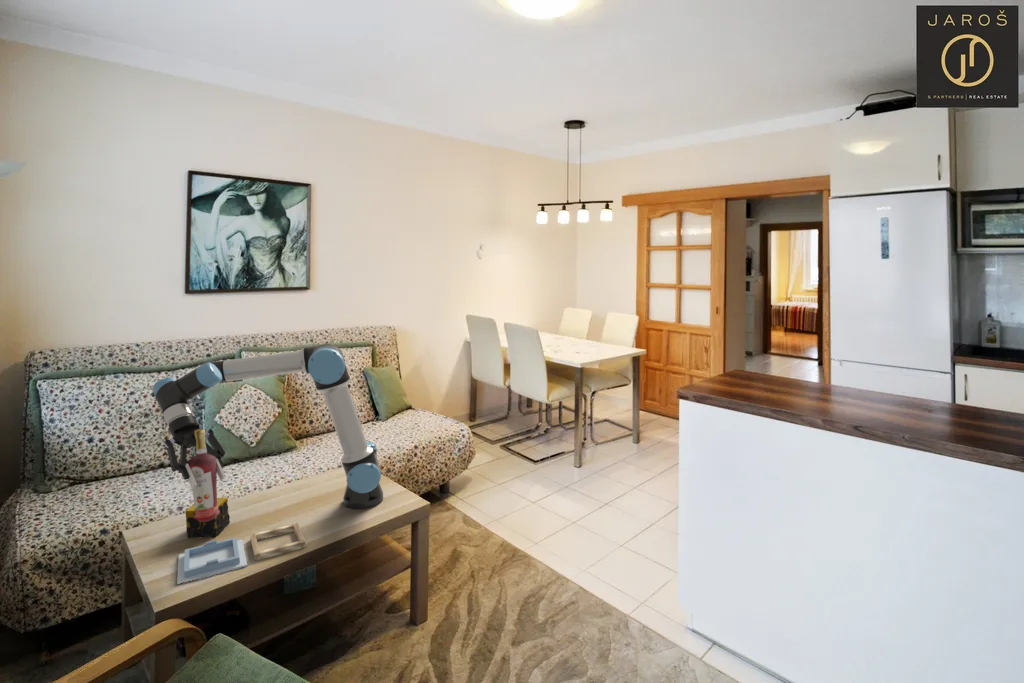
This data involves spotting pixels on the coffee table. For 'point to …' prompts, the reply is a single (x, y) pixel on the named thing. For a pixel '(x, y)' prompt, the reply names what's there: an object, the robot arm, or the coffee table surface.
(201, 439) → the liquor
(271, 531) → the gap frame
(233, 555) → the tray
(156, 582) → the coffee table surface
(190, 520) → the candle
